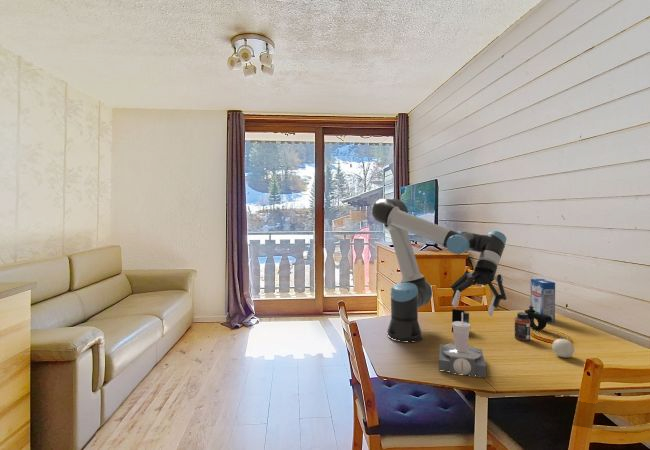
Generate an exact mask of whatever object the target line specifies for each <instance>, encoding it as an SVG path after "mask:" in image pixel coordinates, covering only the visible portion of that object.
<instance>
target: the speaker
mask: <svg viewBox="0 0 650 450" xmlns="http://www.w3.org/2000/svg"><path fill="white" fill-rule="evenodd" d="M451 310H452V311H451V312H452V315H451V323H452V322H455V321H462V312H463V322H467V323H469V324H470V312H465V310H463V309H456V308H452V309H451ZM451 332H453V327H452V326H451ZM453 333H454V332H453Z"/></svg>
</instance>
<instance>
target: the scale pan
mask: <svg viewBox="0 0 650 450" xmlns="http://www.w3.org/2000/svg"><path fill="white" fill-rule="evenodd" d="M477 348H478V347H475V346H473V345H471V344H467V351H466V352H459V351H457V350H456V348H455V342H452V343H451V342H450V343H446V344H444V346H443V347H442V351H443V353H444V354H445V355H447V356H448V357H450V356H455V357H463V358H471V359H475V360H477V359H479V358H480V357H481V352H480V350H479V349H480V348H478V349H477Z"/></svg>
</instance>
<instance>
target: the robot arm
mask: <svg viewBox="0 0 650 450" xmlns="http://www.w3.org/2000/svg"><path fill="white" fill-rule="evenodd" d="M371 214H372V217H373V218H374V220H375V221H376V222H378V223H381V224H383V225H384V228H385V230H388V231H389V235H390V239H391V242H392V244H393V249H394V251H395V255H396V260H397V262H398V267H399V270H400V273H401V280H400V282H398V283H395V284H393V285H392V287H391V290H390V312H391V313H390V316H391V317H390V318H391V319H390V322H389V325H388V328H387V333H388V334H387V336H388V335H389V336H390V337H391V338H393V339H396V340H400V341H408V342H410V343H413V342H412V341H417V342H419V341H421V340H422V339H423V333H422V329H421V327H420V323H419V320H418V319H419V318H418V316H419V315H418V314H419V313H418V312H419V311H418V309H419V308H421V307H424V306H425V305H427V304H428V303H429V302H430V301H431V300H432V297H433V289H432V286H431V285H430V283H429V282H427V281H426V278H425V275H424V274H422V273H421V272H420V268H419V266H418V262H417V259H416V255H415V252H414V248H413V245H412V241H411V238H410V235H409V233H410V234H413V235H415V236H418V237H420V238H422V239H425V240H426V241H429V242H432V243H435V244H436V245H439V246H441V247H443V248H446V249H448V252H450V253H452V254H455V255H461V254H464V253H466V252H468V251H471V252H477V253H480V254H479V257H478V259H477V261H476V264H475V267H474V270H473V272H471V271H469V270H465V271H464V273H463V275H461V276H460V277H459V278H458V279H456V280H455V282H454V283H453V284H451V286H450V287H451V289H452V291H453V294H452V298H453V299H452V302H451V305H452V308H453V309H456V308H457V306H458V303H459V300H460V298H461V295H462V293H461V292H463V291H465V290H467V289H468V288H470V287H471V286H475V285H480V286H488V287H489V288H490V290H491V292H492V294H493V296H492V298H491V301H490V304H489V306H488V310H487V312H488V314H489V316H492V317H493V313H494V311H495V308H498V307H499V304H500V302H501V301H502V300H504V301H506V300H507V299H508V298H507V296H506V291H505V288H504V285H503V277H502V274H498V275H496V273H497V269H498V267H499V263H500V261H501V258H502V255H503V252H504V249H505V247H506V243H507V236H506V235H505V234H504V233H503V232H501V231H497V230H493V231H492V230H491V231H489V232H488V233H487V234H480V233H479V234H478V233H474V232H473V233H472V232H469V231H468V232H467V231H462V230H461V231H460V230H458V231H453V230H451V229H449V228H446V227H444V226H442V225H440V224H436V223H433V222H431V221H429V220H426V219H424V218H421V217H418V216H416V215H413V214H411V213H409V208H408V206H407V204H406V203H405V202H404V201H403V200H400V199H397V198H380V199H378V200H376V201H375V202H374V203H373V206H372V207H371ZM494 280H495V281H496V282H497V284H498V288H499V292H500V294H499V293H498V291H497V289H496V288H495V287H494V284H493V283H492V282H494ZM421 338H422V339H421ZM420 339H421V340H420ZM418 340H419V341H418Z"/></svg>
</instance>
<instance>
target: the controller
mask: <svg viewBox="0 0 650 450" xmlns="http://www.w3.org/2000/svg"><path fill="white" fill-rule="evenodd" d="M533 308H534V307H532V306H530V305H529V306H528V309H524V313H527V314H528V318H529V319H530V329H533V330H535V329H540V330H543V329H545V328H546V327H547V325H548V323H550V322H549V321H552V318H551V316H548V315H545V314H542V313H540V312H536V311H535V310H533ZM535 320H536V321H537V325H536V323H535Z"/></svg>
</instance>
